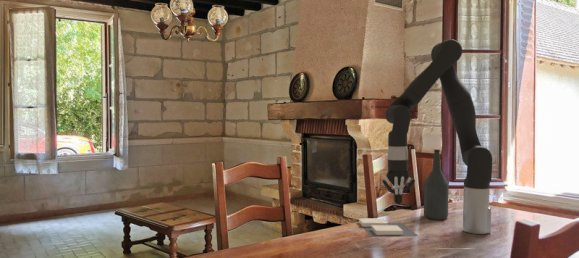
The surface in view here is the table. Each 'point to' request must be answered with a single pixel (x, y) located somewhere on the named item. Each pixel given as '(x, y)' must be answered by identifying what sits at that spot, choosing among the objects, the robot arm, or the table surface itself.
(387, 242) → the table surface
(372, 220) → the tile
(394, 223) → the mat
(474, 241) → the table surface
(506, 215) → the table surface
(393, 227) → the tile
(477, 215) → the robot arm
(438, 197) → the bottle
